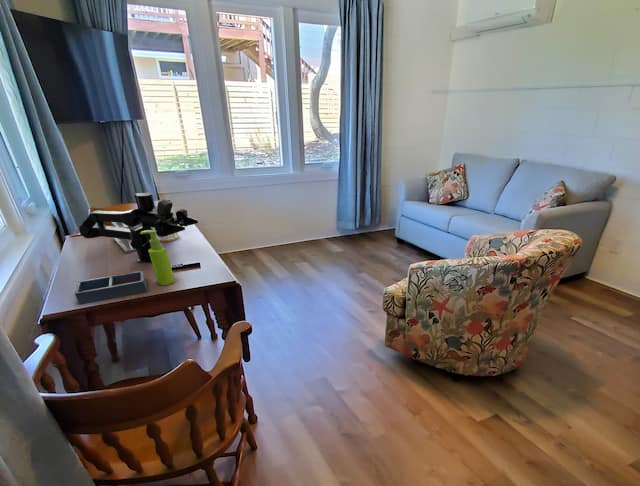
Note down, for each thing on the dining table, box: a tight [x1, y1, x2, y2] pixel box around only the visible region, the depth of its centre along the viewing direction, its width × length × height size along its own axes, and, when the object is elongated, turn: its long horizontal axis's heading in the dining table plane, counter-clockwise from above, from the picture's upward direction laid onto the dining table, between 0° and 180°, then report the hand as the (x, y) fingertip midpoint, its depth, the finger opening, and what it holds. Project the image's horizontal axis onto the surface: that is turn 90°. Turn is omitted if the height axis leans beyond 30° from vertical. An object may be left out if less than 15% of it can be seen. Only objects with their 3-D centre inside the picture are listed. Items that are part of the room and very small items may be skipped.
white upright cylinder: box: [151, 199, 180, 243], centre depth 192 cm, size 11×11×17 cm
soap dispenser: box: [140, 229, 176, 286], centre depth 147 cm, size 6×7×20 cm
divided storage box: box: [74, 270, 148, 305], centre depth 145 cm, size 11×22×4 cm, turn 116°
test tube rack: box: [110, 222, 137, 253], centre depth 186 cm, size 25×4×13 cm, turn 39°
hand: (191, 225), depth 160 cm, fingers open, 9 cm apart
